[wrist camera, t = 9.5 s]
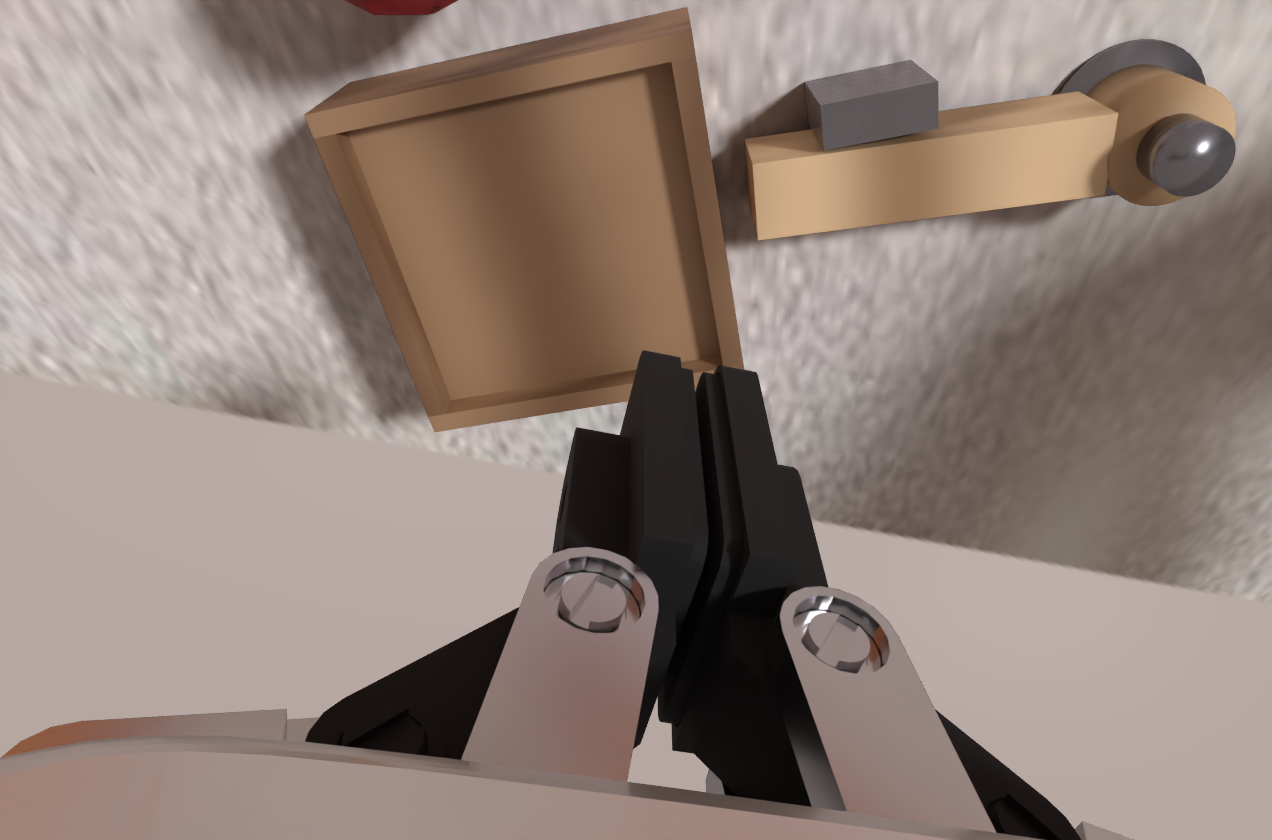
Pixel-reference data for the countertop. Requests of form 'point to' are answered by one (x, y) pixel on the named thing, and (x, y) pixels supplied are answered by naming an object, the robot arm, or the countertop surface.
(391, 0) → the onion
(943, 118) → the leg
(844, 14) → the countertop surface
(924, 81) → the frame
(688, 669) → the robot arm
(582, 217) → the wooden tray
